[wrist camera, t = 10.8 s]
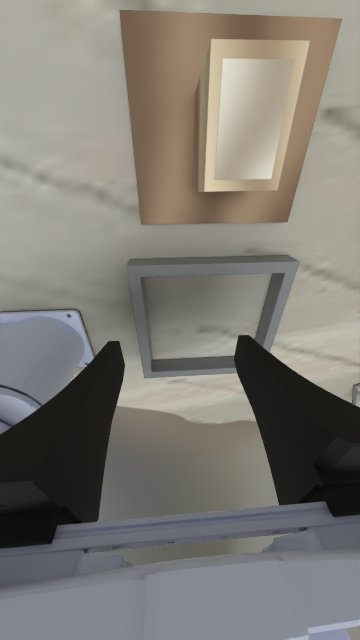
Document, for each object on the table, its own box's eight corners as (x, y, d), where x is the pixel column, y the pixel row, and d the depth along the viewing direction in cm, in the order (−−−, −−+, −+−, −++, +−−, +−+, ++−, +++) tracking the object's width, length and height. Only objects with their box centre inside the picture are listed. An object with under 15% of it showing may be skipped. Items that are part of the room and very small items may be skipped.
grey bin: (145, 366, 26) (144, 378, 24) (130, 259, 18) (126, 265, 16) (257, 360, 26) (263, 371, 25) (287, 255, 19) (299, 261, 17)
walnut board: (142, 222, 16) (141, 224, 16) (123, 23, 11) (119, 9, 10) (281, 220, 17) (287, 222, 16) (329, 31, 11) (341, 18, 11)
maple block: (193, 191, 15) (204, 191, 10) (195, 92, 12) (211, 38, 8) (245, 190, 15) (278, 190, 11) (259, 93, 12) (310, 39, 8)
